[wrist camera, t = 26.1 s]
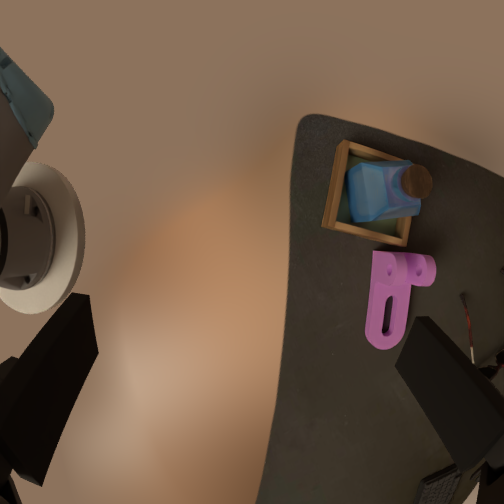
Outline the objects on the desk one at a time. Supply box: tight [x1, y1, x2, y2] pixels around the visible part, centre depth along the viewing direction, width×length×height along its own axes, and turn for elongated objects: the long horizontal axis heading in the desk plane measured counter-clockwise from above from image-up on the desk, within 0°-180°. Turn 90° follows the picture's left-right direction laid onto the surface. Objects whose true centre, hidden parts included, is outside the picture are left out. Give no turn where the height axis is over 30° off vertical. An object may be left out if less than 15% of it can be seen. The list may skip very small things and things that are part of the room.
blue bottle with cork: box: [344, 160, 432, 223], centre depth 30 cm, size 6×6×12 cm
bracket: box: [365, 251, 436, 350], centre depth 34 cm, size 13×6×7 cm, turn 177°
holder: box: [321, 140, 414, 247], centre depth 35 cm, size 11×11×3 cm
